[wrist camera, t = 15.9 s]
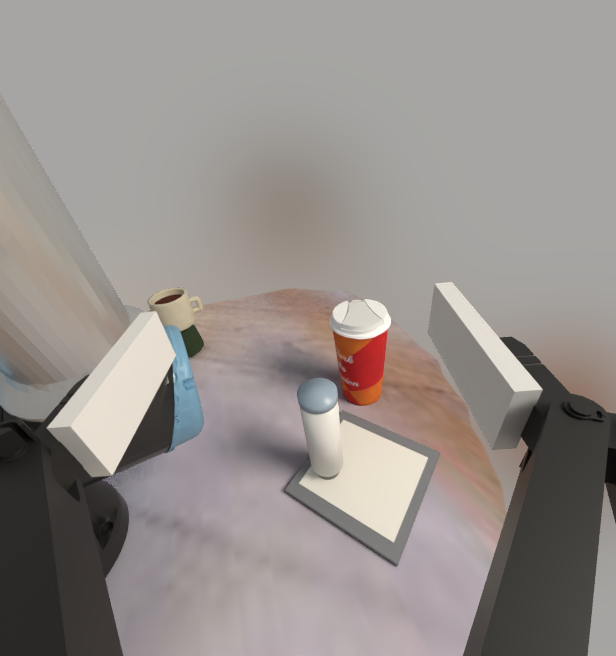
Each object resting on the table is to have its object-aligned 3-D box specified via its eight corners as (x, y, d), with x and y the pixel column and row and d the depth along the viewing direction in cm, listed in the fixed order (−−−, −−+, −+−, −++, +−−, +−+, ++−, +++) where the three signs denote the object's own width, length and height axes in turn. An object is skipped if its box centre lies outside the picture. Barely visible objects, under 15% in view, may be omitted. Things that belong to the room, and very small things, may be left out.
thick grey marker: (305, 473, 39) (288, 397, 31) (322, 448, 41) (311, 373, 34) (333, 490, 37) (323, 413, 29) (350, 462, 39) (344, 385, 32)
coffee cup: (334, 376, 54) (327, 300, 45) (382, 371, 53) (384, 294, 45) (338, 414, 47) (330, 332, 38) (393, 410, 46) (398, 326, 38)
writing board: (285, 492, 38) (284, 489, 37) (342, 413, 47) (342, 409, 46) (397, 566, 30) (397, 563, 30) (439, 455, 39) (440, 451, 39)
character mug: (211, 333, 70) (192, 280, 63) (219, 349, 64) (199, 293, 57) (161, 351, 66) (135, 297, 59) (165, 370, 61) (136, 313, 53)
